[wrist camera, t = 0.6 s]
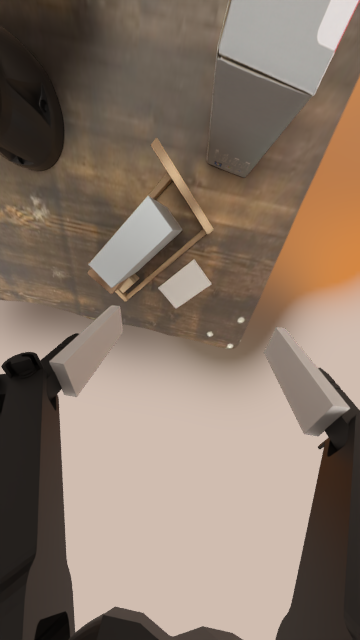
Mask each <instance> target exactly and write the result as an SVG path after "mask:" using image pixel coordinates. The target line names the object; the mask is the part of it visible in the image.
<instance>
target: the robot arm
mask: <svg viewBox="0 0 360 640" xmlns="http://www.w3.org/2000/svg"><path fill="white" fill-rule="evenodd" d="M63 137H64V129H63V119H62V113H61V109H60V105H59V102H58V98H57V96H56V93H55V90H54V88H53V86H52V84H51V82H50V80H49V78H48V76H47V74H46V72H45V71H44V69H43V68H42V66H41V65H40V63H39V62H38V61H37V59H36V58H35V57H34V56H33V55H32V54H31V53H30V52H29V51H28V50H27V49H26V48H25V47H24V46H23V45H22V44H21V43H20V42H19V41H18V39H16V38H15V37H14V36H13V35H12V34H11V33H9V32H8V31H7V30H6V29H4V28H3V27H1V26H0V155H2V156H3V157H5V158H6V159H8V160H9V161H11V162H13V163H15V164H17V165H19V166H22V167H25V168H28V169H31V170H35V171H42V170H46V169H48V168H50V167H51V166H52V165H54V164H55V162H56V161H57V159H58V158H59V156H60V153H61V150H62V146H63ZM122 333H123V327H122V319H121V310H120V306H114V305H111V306H110V307H109V308H108V309H107V310H106V311H104V312H103V313H102V314H101V315H100V316H99V317H98V318H97V319H96V320H95V321H93V322H92V323H91V324H90V325H89V326H88V327H87V328H86V329H85V330H84V331H82V332H81V333H80V334H74V335H72V336H70V337H68V338H67V339H65V340H64V341H63V342H62V344H60V345H58V346H57V348H55V349H54V350H53V351H51V352H50V353H49V354H48V355H47V356H45V357H44V358H43V359H42V360H41V361H40V360H39V358H38V356H37V354H36V353H33V352H26V353H21V354H18V355H15V356H13V357H11V358H9V359H8V360H7V361H5V362H4V363H3V365H2V368H3V370H4V371H5V373H6V374H0V640H242V639H241V638H239V637H238V636H236V635H234V634H233V633H230V632H225V631H221V630H216V629H212V628H208V627H200V628H197V629H194V630H191V631H189V632H186V633H183V634H180V635H177V636H174V637H172V636H169V635H168V634H167V633H166V632H164V631H163V630H162V629H161V628H160V627H159V626H158V625H156V624H155V623H154V622H153V621H152V620H150V619H149V618H148V617H147V616H146V615H145V614H144V613H141V612H136V611H132V610H127V609H123V608H119V607H114V608H112V609H111V610H109V611H108V612H106V613H105V614H102V615H100V616H99V617H97V618H95V619H93V620H92V621H90V622H89V623H87V624H86V625H84V626H83V627H82V628H81V629H79V630H78V631H77V632H76V633H75V624H74V607H73V591H72V581H71V576H70V572H69V568H68V565H67V560H66V542H65V523H64V504H63V503H64V502H63V482H62V460H61V440H60V419H59V399H58V395H57V393H58V392H59V391H60V390H61V389H62V390H63V392H64V395H69V396H75V397H77V396H78V394H79V393H80V392H81V390H82V389H83V388H84V386H85V385H86V383H87V382H88V380H89V379H90V378H91V376H92V375H93V373H94V372H95V371H96V369H97V368H98V367H99V365H100V364H101V362H102V361H103V360H104V358H105V357H106V355H107V354H108V353H109V351H110V350H111V348H112V347H113V346H114V344H115V343H116V342H117V340H118V339H119V337H120V336H121V335H122ZM264 354H265V356H266V358H267V360H268V362H269V364H270V366H271V368H272V370H273V372H274V374H275V376H276V378H277V380H278V382H279V384H280V386H281V388H282V390H283V392H284V394H285V396H286V398H287V400H288V402H289V404H290V406H291V408H292V411H293V413H294V414H295V417H296V419H297V420H298V422H299V425H300V427H301V429H302V431H303V433H304V434H308V435H313V436H319V435H320V434H322V432H324V431H325V432H326V434H327V435H328V437H329V438H328V439H326V440H325V441H324V442H323V443H321V444H320V445H319V446H318V448H319V449H321V448H323V447H324V451H323V455H322V460H321V465H320V469H319V474H318V479H317V484H316V489H315V494H314V499H313V503H312V508H311V513H310V517H309V523H308V527H307V532H306V537H305V541H304V546H303V551H302V556H301V561H300V565H299V570H298V575H297V580H296V585H295V589H294V595H293V599H292V603H291V607H290V609H289V612H288V613H287V615H286V616H285V617H284V619H283V620H282V623H281V624H280V627H279V629H278V633H277V637H276V640H360V410H359V409H358V408H357V407H356V406H355V405H354V403H353V402H352V401H351V400H350V399H349V398H348V396H347V395H346V394H345V393H344V392H343V391H342V390H341V389H340V387H339V386H338V385H337V384H336V383H335V381H334V380H333V379H332V378H331V377H330V376H329V374H327V373H326V372H325V371H323V370H322V369H321V368H317V367H316V365H315V364H314V363H313V362H312V360H311V359H310V358H309V357H308V355H307V354H306V353H305V352H304V351H303V349H302V348H301V347H300V346H299V344H298V343H297V342H296V341H295V339H294V338H293V337H292V336H291V335H290V333H289V332H288V331H287V330H286V328H278V327H276V328H275V331H274V332H273V335H272V337H271V339H270V341H269V343H268V345H267V347H266V349H265V351H264Z"/></svg>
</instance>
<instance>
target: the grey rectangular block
mask: <svg viewBox="0 0 360 640" xmlns="http://www.w3.org/2000/svg"><path fill="white" fill-rule="evenodd" d="M182 230H183V229H182V228H181V227H180V225H179V224H178V222H177V221H176V219H175V218H174V216H173V215H172V213H171V212H170V211H169V209H168V208H167V207H166V206H164V205H162V204H161V203H159V202H158V201H156V200H154V199H153V198H151V197H149V196H147V197H146V199H145V200H144V201H143V202H142V203H141V204H140V205H139V207H138V208H137V209H136V210H135V211H134V212H133V214H132V215H131V216H130V217H129V218H128V219H127V220H126V222H125V223H124V224H123V225H122V226H121V227H120V229H119V230H118V231H117V232H116V233H115V234H114V235H113V237H112V238H111V239H110V240H109V241H108V242H107V244H106V245H105V246H104V247H103V248H102V249H101V250H100V252H99V253H98V254H97V255H96V256H95V257H94V259H93V260H92V261H91V262H90V263H89V265H90V266H91V267H92V268H93V269H94V270H95V271H96V273H97V274H98V275H99V276H100V277H101V278H102V279H103V280H104V281H105V282H106V283H107V284H108V285H109V286H110V287H111V288H113V287H114V286H116V285H117V284H119V283H120V282H122V281H124V280H125V279H127V278H128V277H130V276H131V275H133V274H135V273H136V272H138V271H139V270H140V269H141V268H142V267H143V266H144V265H145V264H146V263H148V262H149V261H150V260H151V259H152V258H153V257H154V256H155V255H156V254H157V253H158V252H160V251H161V250H162V249H163V248H164V247H165V246H166V245H167V244H168V243H169V242H170V241H171V240H173V239H174V238H175V237H176V236H177V235H178V234H179V233H180V232H181V231H182Z"/></svg>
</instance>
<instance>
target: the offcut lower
mask: <svg viewBox="0 0 360 640" xmlns="http://www.w3.org/2000/svg"><path fill="white" fill-rule="evenodd" d="M139 279H140V278H139V277H138V276H137V275H136V274H133V275H131V276H130V277H128V279H127V280H126V281H125V283H124V284H123V285H122V286H121V288H120V291H121V292H122V293H124V292H125V291H126V290H127V289H129V288H130V287H131V286H132V285H133V284H134V283H135V282H137V281H138V280H139Z"/></svg>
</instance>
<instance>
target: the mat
mask: <svg viewBox="0 0 360 640" xmlns="http://www.w3.org/2000/svg"><path fill="white" fill-rule="evenodd" d="M211 284H212V283H211V282H210V280H209V279H208V278H207V276H206V275H205V273H204V272H203V271H202V269H201V268H200V266H199V265H198V264H197V262H196V261H195V259H193V260H192V261H191V262H189V263H188V264H187V265H186V266H184V267H183V268H182V269H181V270H179V271H178V272H177V273H176V274H174V275H173V276H172V277H171V278H169V279H168V280H167V281H166V282H164V283H163V284H162V285H161V286H159V287H158V288H159V289H160V291H161V292H162V293H163V294H164V295H165V297H166V298H167V299H168V300H169V301H170V302H171V304H172V305H173V306H174V307H175V308H178V307H179V306H181V305H182V304H184V303H185V302H186V301H188V300H189V299H191V298H192V297H194V296H195V295H197V294H198V293H200V292H201V291H202V290H204V289H205V288H207V287H208V286H210V285H211Z"/></svg>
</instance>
